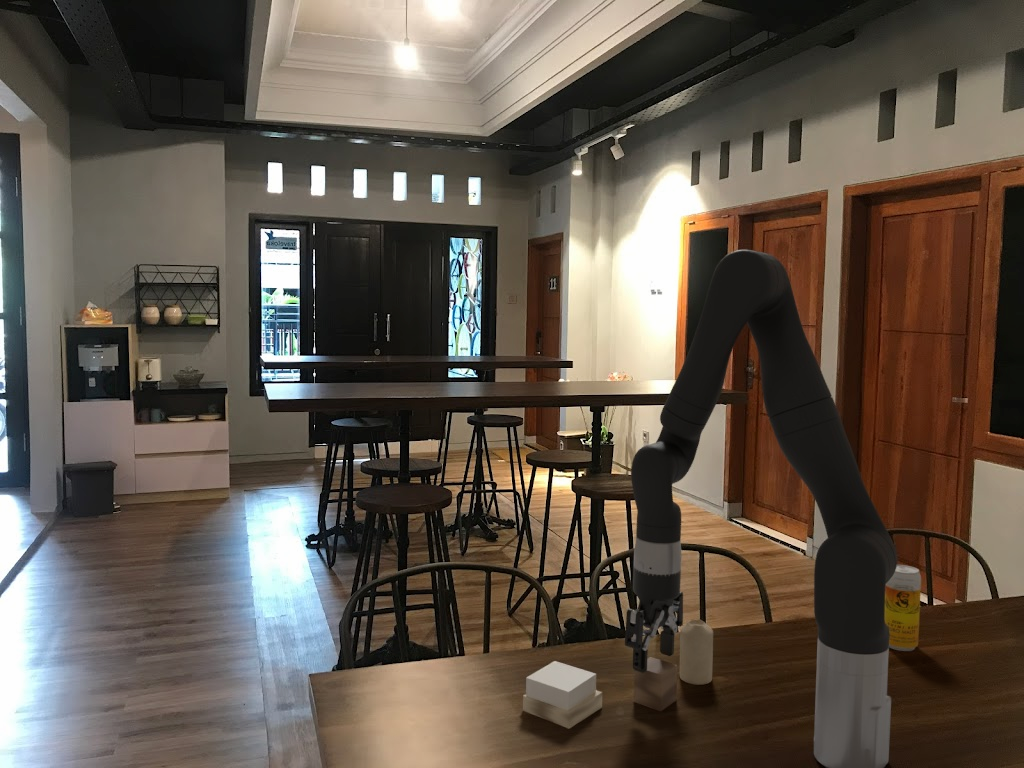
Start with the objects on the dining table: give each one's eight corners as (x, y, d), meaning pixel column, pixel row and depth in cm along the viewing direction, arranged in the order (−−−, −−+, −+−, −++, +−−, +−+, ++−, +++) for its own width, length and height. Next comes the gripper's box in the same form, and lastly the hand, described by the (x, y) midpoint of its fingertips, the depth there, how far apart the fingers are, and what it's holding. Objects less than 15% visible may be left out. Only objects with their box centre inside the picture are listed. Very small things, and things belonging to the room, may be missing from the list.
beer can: (884, 650, 156) (888, 572, 155) (880, 638, 162) (883, 562, 161) (920, 654, 154) (924, 575, 153) (914, 641, 160) (918, 565, 159)
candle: (712, 686, 141) (714, 629, 140) (679, 683, 142) (680, 626, 141) (711, 672, 146) (712, 617, 145) (679, 670, 147) (680, 615, 146)
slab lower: (602, 710, 133) (602, 692, 133) (569, 732, 126) (569, 713, 126) (556, 693, 139) (557, 676, 139) (523, 713, 132) (523, 695, 132)
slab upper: (595, 691, 133) (596, 673, 133) (568, 710, 127) (568, 691, 126) (554, 678, 138) (554, 660, 138) (526, 695, 132) (526, 677, 131)
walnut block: (676, 700, 136) (677, 664, 135) (660, 711, 132) (661, 675, 131) (649, 691, 139) (650, 656, 138) (633, 702, 135) (634, 666, 135)
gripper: (654, 581, 126) (651, 684, 127) (699, 560, 137) (695, 655, 138) (613, 570, 130) (609, 669, 132) (659, 550, 141) (655, 642, 143)
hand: (653, 662), depth 135 cm, fingers open, 8 cm apart
